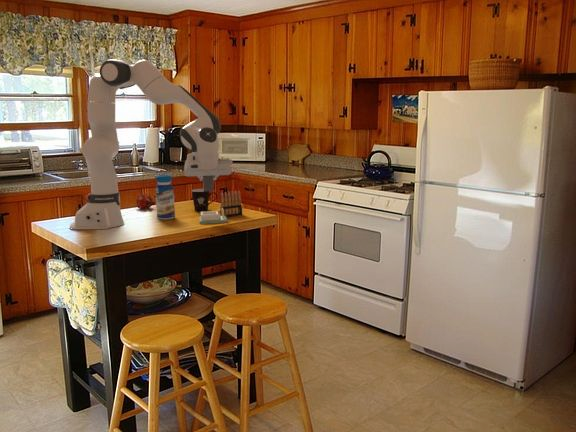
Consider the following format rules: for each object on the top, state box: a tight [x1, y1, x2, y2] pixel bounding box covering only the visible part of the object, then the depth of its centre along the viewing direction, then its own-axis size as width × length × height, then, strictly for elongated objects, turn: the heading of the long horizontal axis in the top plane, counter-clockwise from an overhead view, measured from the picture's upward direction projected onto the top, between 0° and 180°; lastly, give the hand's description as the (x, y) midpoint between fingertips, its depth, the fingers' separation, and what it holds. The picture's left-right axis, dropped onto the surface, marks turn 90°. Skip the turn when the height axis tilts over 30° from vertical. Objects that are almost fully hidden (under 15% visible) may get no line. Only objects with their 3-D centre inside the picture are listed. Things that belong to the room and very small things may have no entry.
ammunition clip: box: [219, 190, 243, 218], centre depth 259 cm, size 11×2×12 cm, turn 123°
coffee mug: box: [191, 188, 218, 212], centre depth 274 cm, size 12×9×10 cm
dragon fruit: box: [135, 192, 156, 211], centre depth 281 cm, size 8×8×12 cm
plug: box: [202, 175, 215, 192], centre depth 246 cm, size 4×4×9 cm
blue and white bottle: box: [154, 173, 176, 221], centre depth 256 cm, size 8×8×20 cm
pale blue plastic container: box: [198, 208, 228, 225], centre depth 249 cm, size 12×10×5 cm
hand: (208, 179), depth 246 cm, fingers closed on plug, 4 cm apart
